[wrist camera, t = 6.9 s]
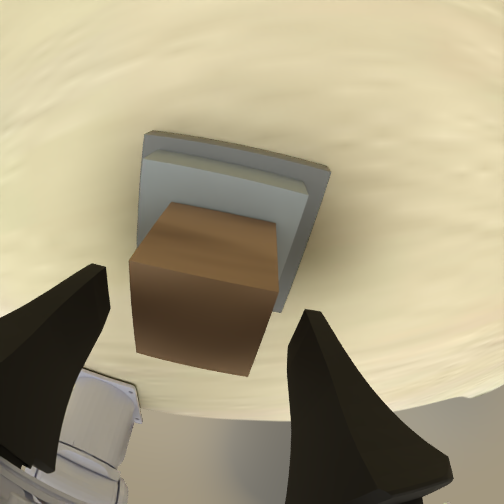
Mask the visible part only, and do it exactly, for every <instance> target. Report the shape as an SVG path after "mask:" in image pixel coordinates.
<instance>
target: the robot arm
mask: <svg viewBox="0 0 504 504" xmlns="http://www.w3.org/2000/svg"><path fill="white" fill-rule="evenodd" d="M110 309H111V308H110V300H109V292H108V283H107V273H106V267H104V266H100V265H96V264H90V265H88V266H86V267H85V268H83V269H81V270H80V271H78V272H77V273H75V274H74V275H72V276H70V277H69V278H67V279H66V280H64V281H63V282H61V283H60V284H58V285H56V286H55V287H53V288H52V289H50V290H49V291H47V292H46V293H44V294H42V295H41V296H39V297H37V298H36V299H34V300H32V301H31V302H29V303H27V304H26V305H24V306H22V307H20V308H19V309H17V310H15V311H13V312H11V313H9V314H7V315H5V316H3V317H1V318H0V504H127V500H128V487H127V485H126V483H125V481H124V479H123V478H120V473H121V472H120V471H118V470H117V467H118V466H119V465H120V464H121V463H122V462H123V460H124V457H125V453H126V449H127V446H128V442H129V439H130V435H131V432H132V428H133V425H134V422H136V423H139V424H142V422H143V420H142V415H141V411H140V406H139V402H138V397H137V392H136V388H135V387H134V386H133V385H130V384H127V383H124V382H121V381H117V380H114V379H111V378H108V377H105V376H102V375H99V374H96V373H94V372H91V371H88V370H85V369H83V366H84V364H85V362H86V360H87V358H88V356H89V354H90V352H91V350H92V348H93V347H94V345H95V343H96V341H97V339H98V337H99V335H100V333H101V331H102V329H103V327H104V324H105V322H106V319H107V316H108V314H109V311H110ZM287 379H288V391H289V403H290V415H291V455H290V467H289V478H288V487H287V495H286V501H285V504H423V500H422V497H423V496H425V495H428V494H430V493H432V492H434V491H436V490H438V489H440V488H442V487H444V486H446V485H448V484H449V483H451V482H452V480H453V479H454V478H453V474H452V469H451V466H450V461H449V458H448V456H446V455H445V454H443V453H442V452H440V451H439V450H437V449H436V448H435V447H433V446H431V445H430V444H428V443H427V442H426V441H424V440H423V439H422V438H421V437H420V436H419V435H417V434H416V433H415V432H414V431H412V430H411V429H410V428H409V427H408V426H407V425H406V424H404V423H403V422H402V421H401V420H400V419H399V418H398V417H397V416H396V415H395V414H394V413H393V412H392V411H391V410H390V409H389V408H388V406H387V405H386V404H385V403H384V402H383V401H382V400H381V399H380V397H379V396H378V395H377V394H376V393H375V392H374V390H373V389H372V388H371V387H370V385H369V384H368V383H367V382H366V380H365V379H364V377H363V376H362V375H361V373H360V372H359V371H358V369H357V368H356V366H355V365H354V363H353V362H352V360H351V359H350V357H349V356H348V354H347V353H346V351H345V350H344V348H343V347H342V345H341V343H340V342H339V340H338V339H337V337H336V335H335V334H334V332H333V330H332V329H331V327H330V325H329V324H328V322H327V320H326V319H325V317H324V316H323V314H322V312H320V311H314V310H308V309H305V310H304V312H303V315H302V317H301V319H300V321H299V323H298V326H297V328H296V330H295V332H294V334H293V336H292V339H291V341H290V343H289V345H288V354H287ZM74 385H75V386H74ZM73 387H74V388H73ZM22 465H24V466H26V469H25V472H24V471H23V470H21V466H22ZM444 504H450V502H446V503H444Z"/></svg>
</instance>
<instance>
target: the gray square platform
mask: <svg viewBox="0 0 504 504" xmlns="http://www.w3.org/2000/svg"><path fill="white" fill-rule="evenodd" d="M158 149H160V150H166V151H171V152H177V153H183V154H188V155H193V156H199V157H204V158H209V159H213V160H218V161H223V162H228V163H232V164H237V165H241V166H246V167H250V168H254V169H258V170H262V171H266V172H271V173H274V174H278V175H282V176H286V177H290V178H294V179H297V180H301V181H303V182H304V185H305V187H306V190H307V192H308V195H309V196H308V199H307V202H306V205H305V208H304V211H303V214H302V217H301V220H300V223H299V226H298V229H297V232H296V234H295V237H294V240H293V243H292V246H291V249H290V252H289V254H288V257H287V260H286V263H285V266H284V268H283V271H282V274H281V277H280V279H279V294H278V296H277V299H276V302H275V305H274V308H273V312H279V313H281V312H282V309H283V307H284V304H285V302H286V299H287V296H288V294H289V291H290V289H291V286H292V283H293V281H294V278H295V275H296V273H297V270H298V267H299V264H300V262H301V259H302V256H303V253H304V251H305V248H306V245H307V242H308V240H309V237H310V234H311V231H312V228H313V225H314V222H315V219H316V217H317V214H318V211H319V208H320V205H321V202H322V199H323V196H324V193H325V190H326V187H327V184H328V181H329V178H330V174H331V171H330V170H329V169H328V167H327V166H324V165H321V164H317V163H314V162H310V161H306V160H302V159H299V158H295V157H291V156H287V155H283V154H279V153H275V152H270V151H266V150H262V149H257V148H253V147H248V146H243V145H238V144H233V143H228V142H223V141H218V140H212V139H207V138H201V137H195V136H188V135H182V134H175V133H168V132H161V131H150V132H148V133H146V134H144V142H143V151H142V161H141V172H142V163H143V158H145V157H147V156H148V155H150V154H151V153H153V152H155V151H156V150H158ZM140 182H141V173H140ZM139 194H140V187H139ZM138 208H139V205H138Z"/></svg>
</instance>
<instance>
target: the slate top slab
mask: <svg viewBox="0 0 504 504" xmlns="http://www.w3.org/2000/svg"><path fill="white" fill-rule="evenodd" d="M308 196H309V195H308V192H307V190H306V187H305V185H304V182H303V181H301V180H297V179H294V178H290V177H286V176H282V175H278V174H274V173H271V172H266V171H262V170H258V169H254V168H250V167H246V166H241V165H237V164H232V163H228V162H223V161H218V160H213V159H209V158H204V157H199V156H193V155H188V154H183V153H177V152H171V151H166V150H160V149H158V150H156V151H155V152H153V153H151V154H150V155H148V156H147V157H145V158H143V163H142V172H141V182H140V194H139V208H138V225H137V248H138V246H139V245H140V244H141V242H142V241H143V239H144V238H145V237H146V235H147V234H148V232H149V231H150V230H151V228H152V227H153V225H154V224H155V223H156V221H157V220H158V219H159V217H160V216H161V215H162V213H163V212H164V211H165V209H166V208H167V207H168V205H169V204H170V203H171V202H175V203H180V204H185V205H190V206H195V207H200V208H205V209H210V210H215V211H220V212H225V213H230V214H235V215H240V216H244V217H249V218H254V219H259V220H263V221H268V222H272V223H276V236H277V257H278V280H279V279H280V277H281V274H282V271H283V268H284V266H285V263H286V260H287V257H288V254H289V252H290V249H291V246H292V243H293V240H294V237H295V234H296V232H297V229H298V226H299V223H300V220H301V217H302V214H303V211H304V208H305V205H306V202H307V199H308Z"/></svg>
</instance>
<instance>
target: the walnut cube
mask: <svg viewBox="0 0 504 504" xmlns="http://www.w3.org/2000/svg"><path fill="white" fill-rule="evenodd" d="M129 274H130V291H131V305H132V316H133V327H134V336H135V344H136V352H137V353H140V354H144V355H147V356H151V357H155V358H159V359H163V360H167V361H171V362H175V363H179V364H184V365H188V366H193V367H197V368H202V369H207V370H212V371H217V372H223V373H228V374H234V375H240V376H246V377H248V375H249V373H250V370H251V367H252V365H253V362H254V359H255V357H256V354H257V351H258V349H259V346H260V343H261V341H262V338H263V335H264V333H265V330H266V327H267V324H268V322H269V319H270V316H271V313H272V311H273V308H274V305H275V302H276V299H277V296H278V294H279V280H278V257H277V236H276V223H272V222H268V221H263V220H259V219H254V218H249V217H244V216H240V215H235V214H230V213H225V212H220V211H215V210H210V209H205V208H200V207H195V206H190V205H185V204H180V203H175V202H171V203H170V204H169V205H168V207H167V208H166V209H165V211H164V212H163V213H162V215H161V216H160V217H159V219H158V220H157V221H156V223H155V224H154V225H153V227H152V228H151V230H150V231H149V232H148V234H147V235H146V237H145V238H144V239H143V241H142V242H141V244H140V245H139V246H138V248H137V249H136V251H135V252H134V254H133V255H132V257H131V258H130V260H129Z"/></svg>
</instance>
